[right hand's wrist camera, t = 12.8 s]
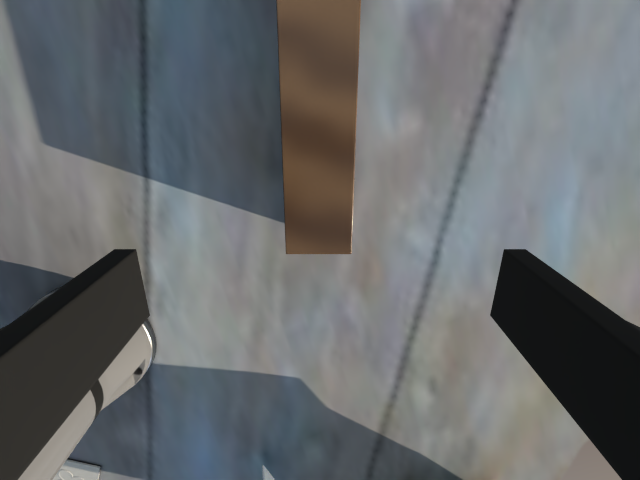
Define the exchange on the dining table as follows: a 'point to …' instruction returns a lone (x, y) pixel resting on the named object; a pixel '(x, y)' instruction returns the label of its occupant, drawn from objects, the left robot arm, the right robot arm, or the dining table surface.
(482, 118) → the dining table surface
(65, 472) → the invitation card
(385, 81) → the dining table surface
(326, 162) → the post
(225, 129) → the dining table surface
